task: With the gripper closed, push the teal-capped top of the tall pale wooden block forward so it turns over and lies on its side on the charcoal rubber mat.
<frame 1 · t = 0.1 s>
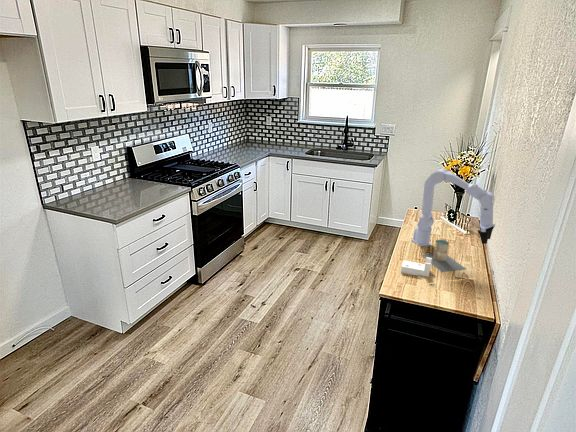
hand: (486, 241, 192), 11 cm above the counter, tool pointing down, fingers open, 7 cm apart
mat: (442, 262, 191), on the counter
tall block: (439, 259, 194), point 1 cm above the counter, touching mat
bracket: (415, 272, 182), on the counter
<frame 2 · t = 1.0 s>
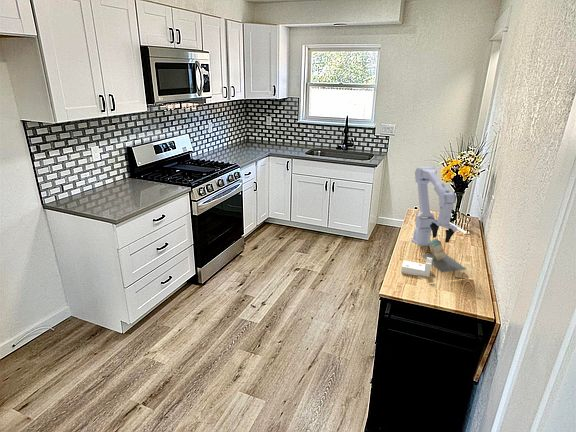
hand: (440, 239, 194), 10 cm above the counter, tool pointing down, fingers open, 7 cm apart
tall block: (439, 257, 193), point 2 cm above the counter, tilted 25°, touching mat
everything else where it was.
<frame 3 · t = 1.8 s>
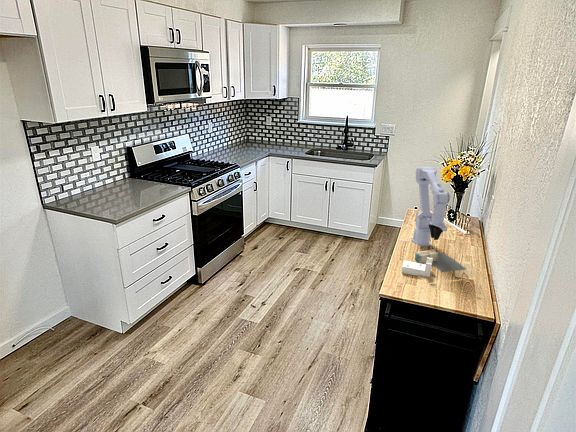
hand: (434, 238, 196), 9 cm above the counter, tool pointing down, fingers closed
tall block: (435, 254, 192), point 3 cm above the counter, tilted 96°, touching mat
everything else where it was.
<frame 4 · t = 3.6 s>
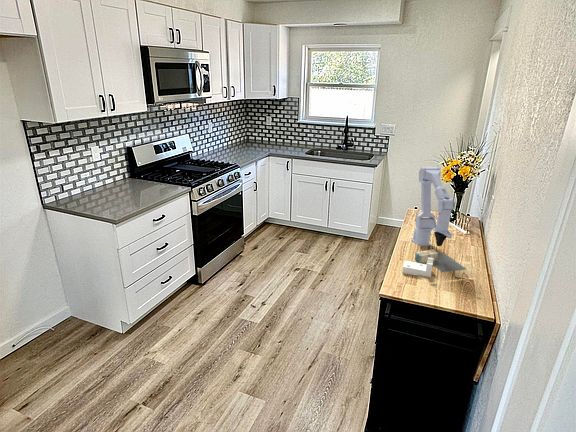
hand: (439, 245, 193), 7 cm above the counter, tool pointing down, fingers closed
nothing on the counter moved.
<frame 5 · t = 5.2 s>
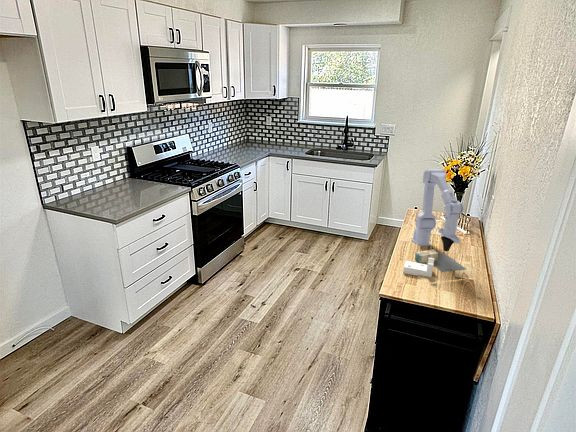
hand: (446, 250, 188), 7 cm above the counter, tool pointing down, fingers closed
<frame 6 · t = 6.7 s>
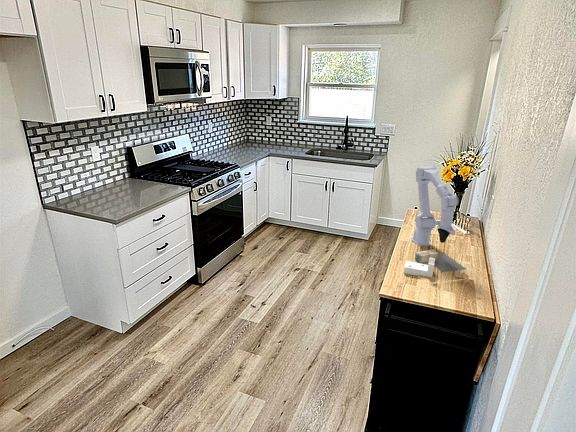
hand: (442, 242, 194), 9 cm above the counter, tool pointing down, fingers closed
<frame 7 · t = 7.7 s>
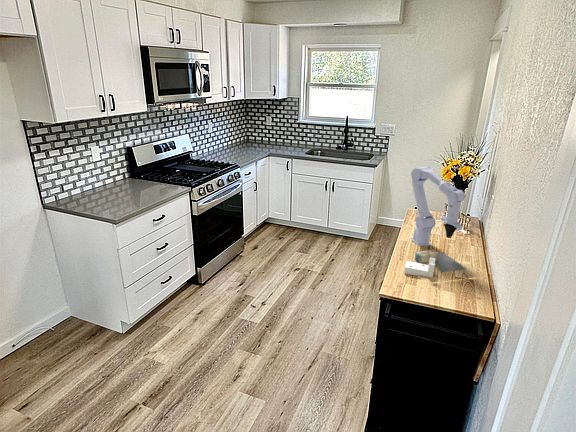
hand: (448, 237, 196), 10 cm above the counter, tool pointing down, fingers closed
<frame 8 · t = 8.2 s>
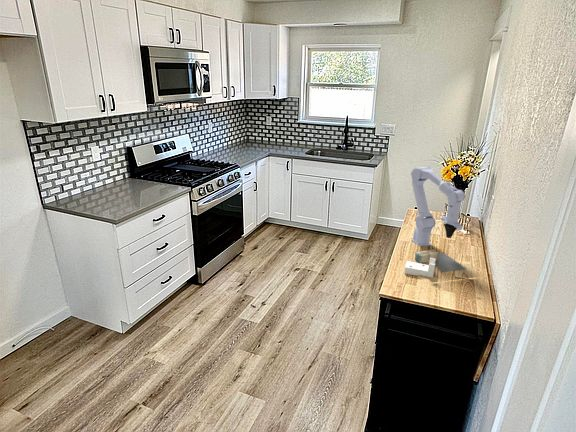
hand: (448, 237, 196), 10 cm above the counter, tool pointing down, fingers closed
at the end: tall block tilted 96°; tall block inside the target area on the mat (4.4 cm from its centre), point 3.3 cm above the mat's base; tall block touching mat, counter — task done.
